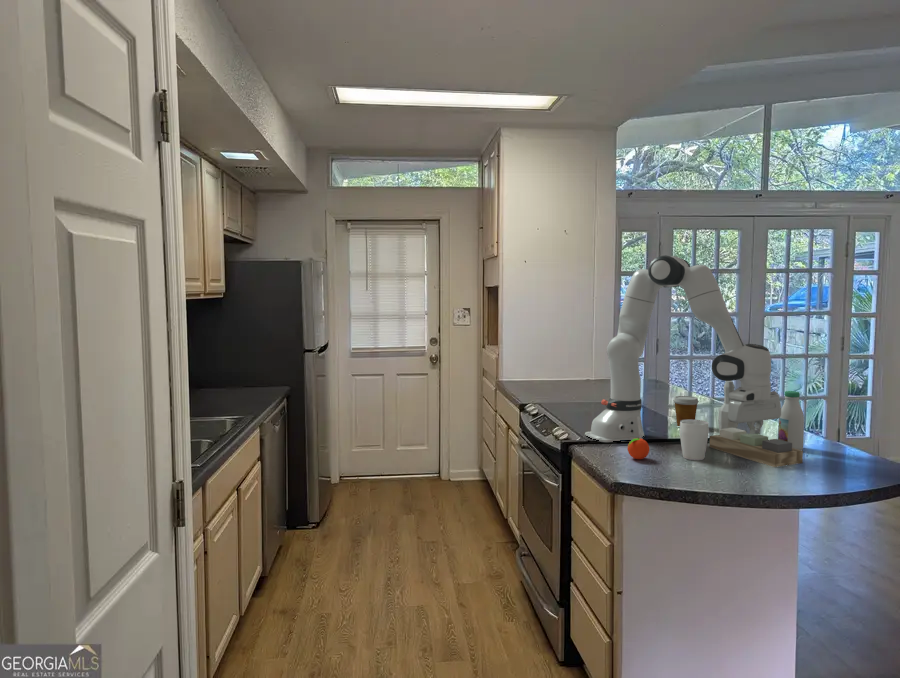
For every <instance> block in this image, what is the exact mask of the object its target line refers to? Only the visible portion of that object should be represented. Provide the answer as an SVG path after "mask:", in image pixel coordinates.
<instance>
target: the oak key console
mask: <svg viewBox="0 0 900 678" xmlns="http://www.w3.org/2000/svg"><path fill="white" fill-rule="evenodd" d="M709 448H711V449H715V450H717V451H720V452H724V453H727V454H730V455H733V456H737V457H740V458H743V459H747V460H750V461H753V462H756V463H759V464H762V465H765V464H766V466H768V467H769V466H770V467H773V468H778V467H779V466H780V467H786V465H787V466H792V465H798V464H803V462H804V461H803V460H804V459H803V458H804V457H803V456H804V455H803V454H804V450H803V449H802V450H798V449H795V448H792V451H788V452H781V453H777V452H773V451H770V450H766V449H762V445H761V446H752V445H748V444H745V443H741V442H740V439H739V440H731V439H727V438H723V437H720V434H716V435H709ZM780 467H779V468H780Z"/></svg>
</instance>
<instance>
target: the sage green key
mask: <svg viewBox="0 0 900 678" xmlns="http://www.w3.org/2000/svg"><path fill="white" fill-rule="evenodd" d="M763 440H769V436H767V435H763V434H761V433H760V434H750V432H749V433H746V434H741V435H740V442H741V443H745V444H748V445H752V446H761V445H762V441H763Z"/></svg>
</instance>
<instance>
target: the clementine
mask: <svg viewBox="0 0 900 678" xmlns="http://www.w3.org/2000/svg"><path fill="white" fill-rule="evenodd" d="M628 442H629V443H628V444H627V452H628V455H630V457H631V458H632V459H636V460H644V459H645V458H647V456H648V455H649V454H650V446H649V445H650V444H649V443H648V442H647V441H646V440H645V439H643V438H642V439H641V438H635V439H633V440H631V441H628Z"/></svg>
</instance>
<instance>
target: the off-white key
mask: <svg viewBox="0 0 900 678" xmlns="http://www.w3.org/2000/svg"><path fill="white" fill-rule="evenodd" d="M747 433H748V432H747V430H745V429H744V430H743V429H740V428H737V429H736V428H725V429H720V430H719V435H720V437H723V438H727V439H731V440H739V439H740V435H741V434H747Z"/></svg>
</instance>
